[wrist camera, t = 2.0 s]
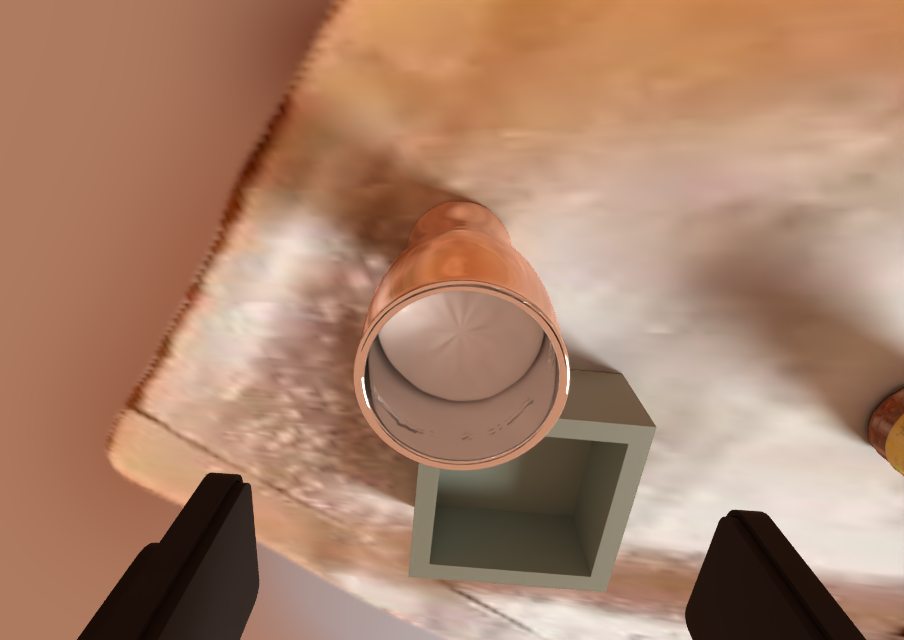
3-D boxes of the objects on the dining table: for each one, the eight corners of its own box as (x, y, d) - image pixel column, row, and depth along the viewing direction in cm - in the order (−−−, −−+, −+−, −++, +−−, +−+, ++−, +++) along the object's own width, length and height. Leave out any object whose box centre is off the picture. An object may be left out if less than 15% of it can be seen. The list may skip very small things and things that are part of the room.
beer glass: (487, 169, 27) (520, 229, 13) (538, 278, 29) (611, 427, 15) (377, 227, 28) (300, 337, 14) (434, 327, 31) (415, 505, 17)
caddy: (429, 356, 31) (423, 406, 26) (622, 374, 32) (656, 427, 26) (415, 508, 36) (408, 576, 31) (583, 521, 36) (605, 592, 31)
